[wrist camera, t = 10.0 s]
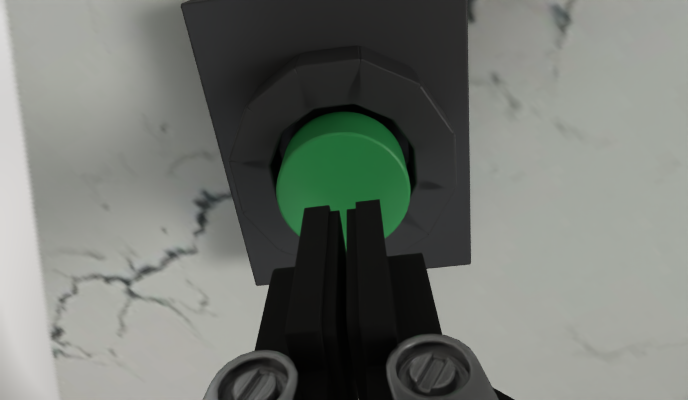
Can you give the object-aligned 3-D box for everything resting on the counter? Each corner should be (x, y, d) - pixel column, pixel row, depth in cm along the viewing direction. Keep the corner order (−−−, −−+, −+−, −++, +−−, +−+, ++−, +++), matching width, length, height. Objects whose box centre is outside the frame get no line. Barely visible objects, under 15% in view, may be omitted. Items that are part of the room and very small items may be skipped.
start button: (272, 119, 14) (262, 141, 12) (399, 102, 14) (406, 124, 12) (295, 227, 16) (289, 258, 14) (408, 214, 15) (415, 245, 14)
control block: (200, -5, 16) (157, 12, 12) (452, -41, 15) (483, -34, 12) (264, 253, 20) (247, 319, 17) (459, 232, 20) (483, 296, 16)
